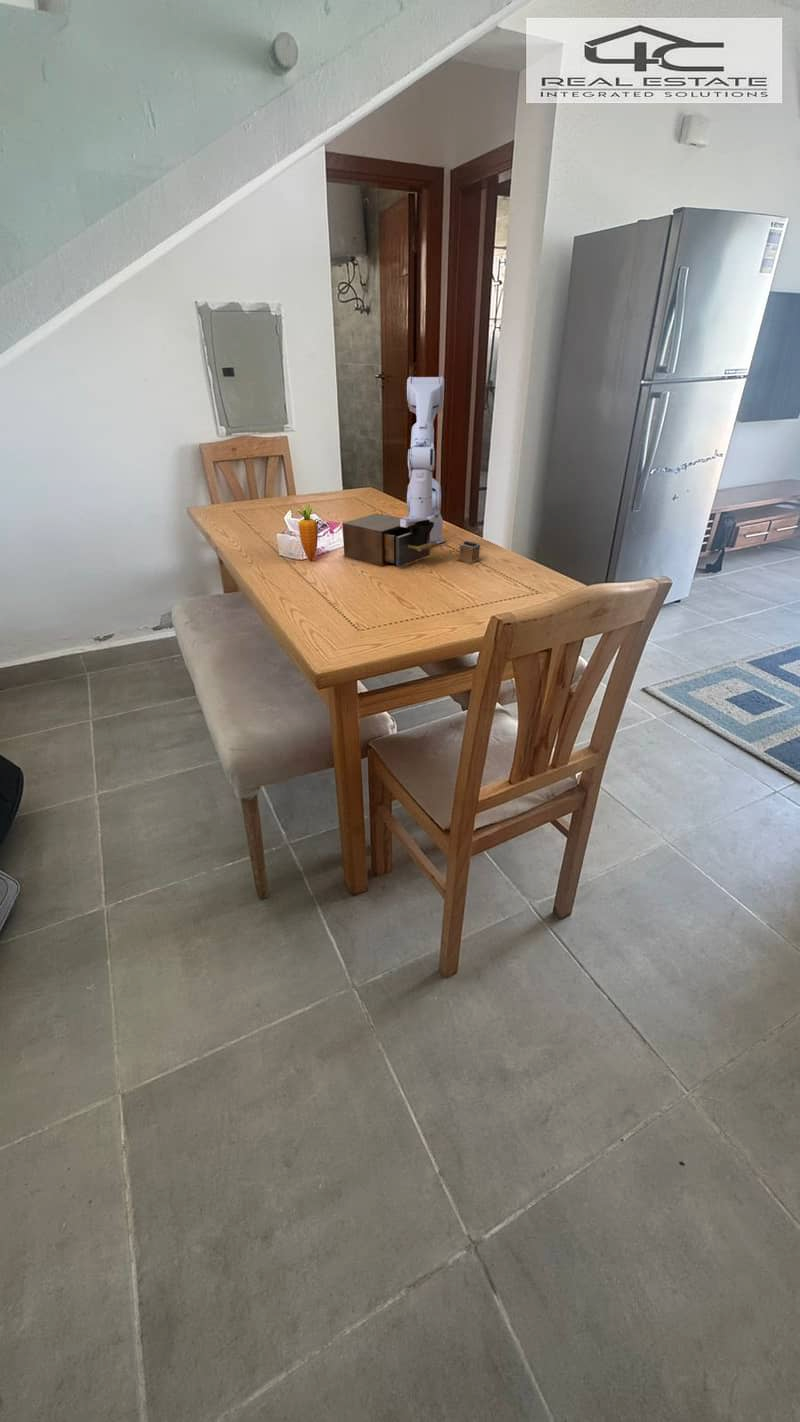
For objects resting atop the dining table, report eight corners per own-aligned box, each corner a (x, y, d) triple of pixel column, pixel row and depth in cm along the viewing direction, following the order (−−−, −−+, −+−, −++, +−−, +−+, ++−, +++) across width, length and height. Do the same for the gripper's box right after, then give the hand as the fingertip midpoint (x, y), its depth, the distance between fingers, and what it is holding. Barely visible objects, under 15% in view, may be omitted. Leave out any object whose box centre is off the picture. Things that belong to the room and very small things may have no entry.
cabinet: (415, 554, 173) (415, 520, 168) (382, 566, 164) (381, 531, 159) (377, 545, 181) (377, 513, 176) (344, 556, 172) (342, 522, 167)
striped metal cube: (467, 557, 170) (468, 539, 168) (479, 560, 168) (480, 542, 165) (459, 560, 168) (460, 542, 165) (471, 563, 165) (472, 545, 163)
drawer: (443, 558, 167) (444, 530, 163) (413, 570, 158) (413, 540, 154) (393, 546, 177) (392, 519, 173) (362, 557, 168) (361, 529, 164)
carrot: (311, 564, 165) (306, 508, 157) (298, 561, 168) (292, 505, 160) (323, 560, 169) (319, 504, 161) (310, 557, 171) (306, 502, 163)
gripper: (415, 503, 148) (415, 558, 155) (450, 494, 158) (448, 546, 164) (393, 500, 152) (394, 553, 159) (428, 491, 162) (427, 542, 168)
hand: (420, 550), depth 162 cm, fingers closed, pressing on drawer
